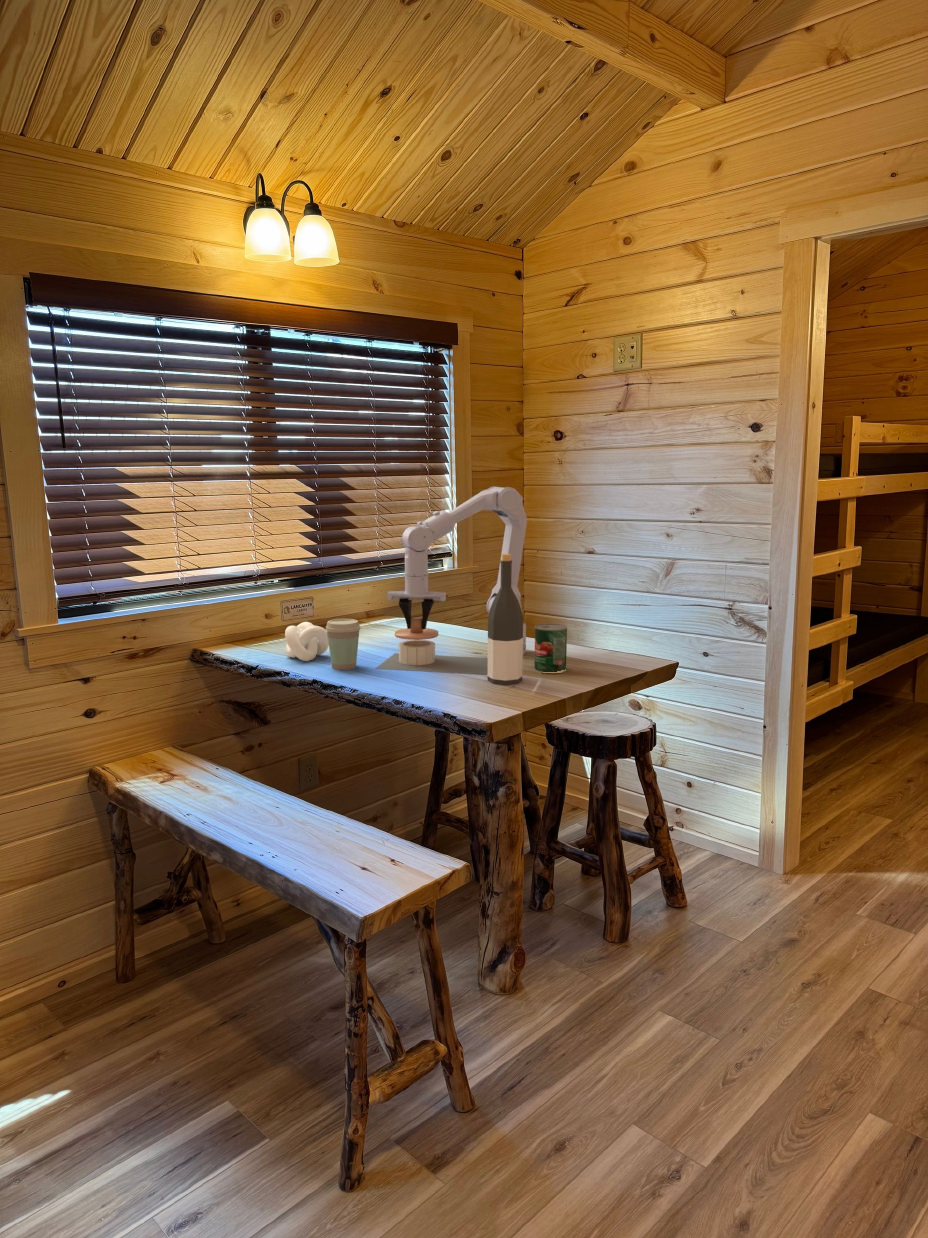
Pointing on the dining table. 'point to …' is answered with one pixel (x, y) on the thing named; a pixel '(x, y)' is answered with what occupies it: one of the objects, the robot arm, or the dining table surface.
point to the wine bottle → (505, 632)
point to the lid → (416, 631)
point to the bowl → (416, 652)
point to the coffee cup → (343, 642)
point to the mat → (441, 665)
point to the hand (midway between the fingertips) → (416, 628)
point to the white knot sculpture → (306, 641)
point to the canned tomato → (550, 647)
